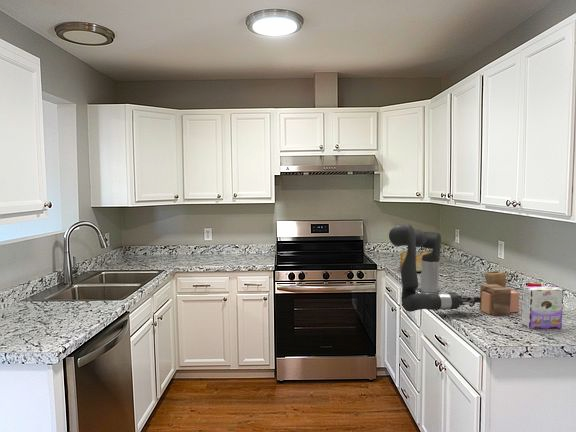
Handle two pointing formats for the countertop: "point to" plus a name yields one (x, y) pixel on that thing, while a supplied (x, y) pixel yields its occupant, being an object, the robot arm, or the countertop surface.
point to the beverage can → (533, 284)
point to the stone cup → (496, 278)
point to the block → (487, 302)
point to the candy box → (542, 307)
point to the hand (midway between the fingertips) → (479, 299)
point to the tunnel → (498, 298)
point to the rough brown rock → (418, 260)
